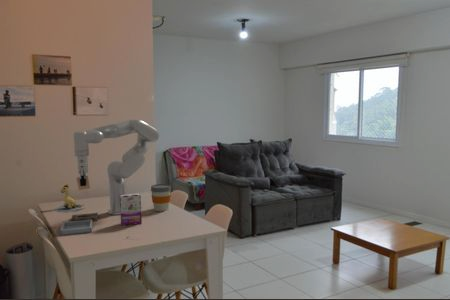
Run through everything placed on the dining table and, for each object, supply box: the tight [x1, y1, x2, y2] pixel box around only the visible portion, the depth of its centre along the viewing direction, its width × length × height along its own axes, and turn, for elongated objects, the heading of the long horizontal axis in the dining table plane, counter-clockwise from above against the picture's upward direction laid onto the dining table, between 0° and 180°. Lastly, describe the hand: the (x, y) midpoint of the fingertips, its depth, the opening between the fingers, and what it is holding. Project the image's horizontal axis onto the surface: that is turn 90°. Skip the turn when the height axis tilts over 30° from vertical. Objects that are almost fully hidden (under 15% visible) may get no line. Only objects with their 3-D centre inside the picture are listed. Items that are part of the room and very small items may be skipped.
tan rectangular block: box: [75, 175, 91, 191], centre depth 216 cm, size 6×3×7 cm, turn 108°
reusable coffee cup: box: [150, 183, 172, 212], centre depth 239 cm, size 13×13×15 cm
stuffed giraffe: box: [49, 184, 85, 213], centre depth 242 cm, size 16×18×16 cm
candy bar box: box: [120, 192, 143, 226], centre depth 210 cm, size 11×5×16 cm, turn 105°
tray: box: [59, 220, 94, 236], centre depth 200 cm, size 15×15×2 cm
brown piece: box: [70, 212, 99, 222], centre depth 218 cm, size 14×10×2 cm
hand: (83, 184), depth 216 cm, fingers closed on tan rectangular block, 2 cm apart
